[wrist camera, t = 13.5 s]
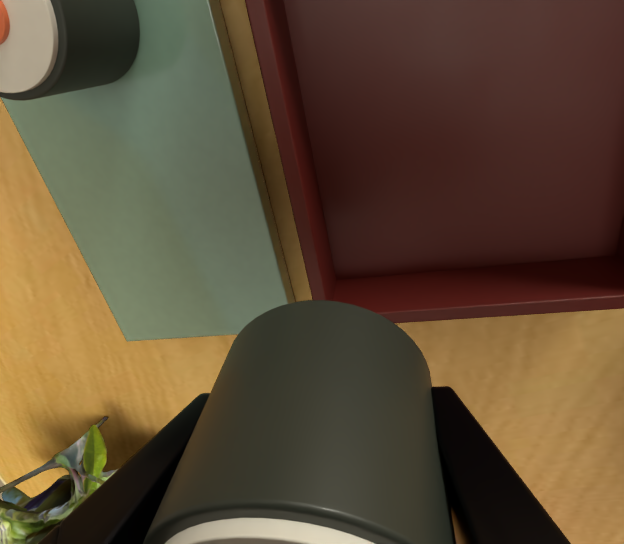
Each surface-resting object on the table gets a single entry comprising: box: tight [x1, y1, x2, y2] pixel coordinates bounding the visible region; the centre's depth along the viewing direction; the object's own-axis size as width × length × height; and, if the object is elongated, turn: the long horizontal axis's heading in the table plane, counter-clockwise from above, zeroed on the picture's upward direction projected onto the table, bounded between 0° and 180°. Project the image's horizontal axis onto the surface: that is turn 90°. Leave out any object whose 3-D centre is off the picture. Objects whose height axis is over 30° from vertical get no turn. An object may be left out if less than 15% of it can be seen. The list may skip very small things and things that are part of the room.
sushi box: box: [245, 0, 624, 323], centre depth 14 cm, size 16×13×4 cm
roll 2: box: [143, 300, 456, 544], centre depth 7 cm, size 5×5×5 cm
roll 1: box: [0, 0, 140, 101], centre depth 13 cm, size 5×5×5 cm
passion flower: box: [0, 417, 118, 544], centre depth 28 cm, size 11×11×12 cm
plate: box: [1, 0, 295, 341], centre depth 18 cm, size 20×10×1 cm, turn 11°
